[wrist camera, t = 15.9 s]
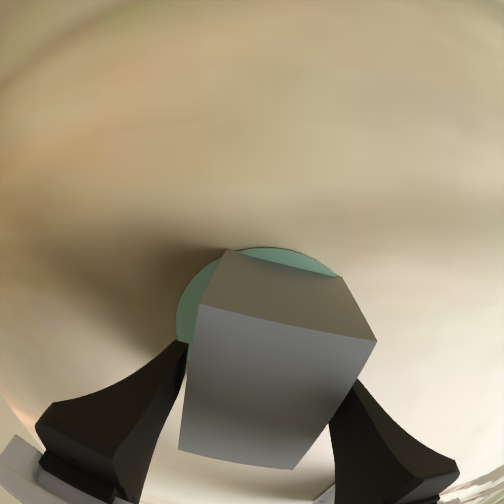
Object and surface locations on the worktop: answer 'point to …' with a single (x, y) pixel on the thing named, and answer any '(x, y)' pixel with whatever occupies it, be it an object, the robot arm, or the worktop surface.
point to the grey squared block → (269, 361)
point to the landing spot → (201, 280)
